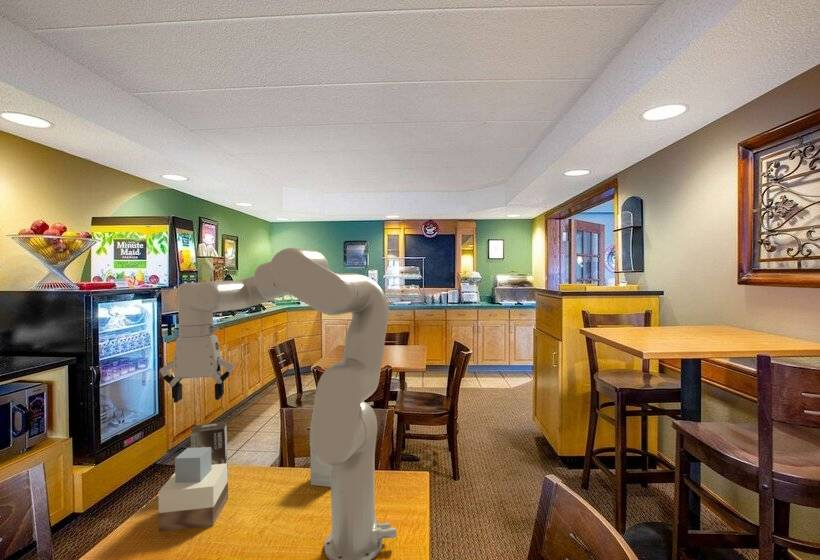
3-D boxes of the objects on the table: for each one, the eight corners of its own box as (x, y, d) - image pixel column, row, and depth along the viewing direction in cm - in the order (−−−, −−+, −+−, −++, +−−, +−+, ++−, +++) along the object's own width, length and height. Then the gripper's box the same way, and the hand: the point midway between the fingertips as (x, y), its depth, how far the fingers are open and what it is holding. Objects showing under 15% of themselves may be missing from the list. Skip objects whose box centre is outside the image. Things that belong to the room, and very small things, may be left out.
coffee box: (229, 473, 120) (228, 420, 120) (226, 483, 114) (225, 428, 114) (195, 478, 117) (194, 424, 117) (191, 489, 111) (190, 432, 111)
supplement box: (334, 487, 111) (333, 443, 111) (309, 485, 113) (309, 441, 113) (343, 475, 118) (343, 433, 118) (320, 472, 120) (320, 431, 120)
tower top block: (227, 481, 106) (227, 463, 106) (213, 507, 95) (213, 486, 95) (179, 486, 104) (178, 467, 104) (158, 513, 93) (158, 491, 92)
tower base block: (228, 500, 107) (227, 481, 106) (213, 527, 95) (212, 507, 95) (180, 504, 105) (180, 485, 105) (158, 533, 93) (158, 512, 93)
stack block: (211, 469, 103) (211, 447, 103) (200, 481, 97) (200, 457, 97) (187, 470, 103) (187, 447, 102) (175, 482, 97) (174, 458, 96)
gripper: (237, 328, 104) (239, 393, 104) (166, 331, 102) (168, 397, 102) (227, 332, 96) (229, 401, 96) (151, 335, 94) (153, 406, 94)
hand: (198, 399), depth 99 cm, fingers open, 9 cm apart
